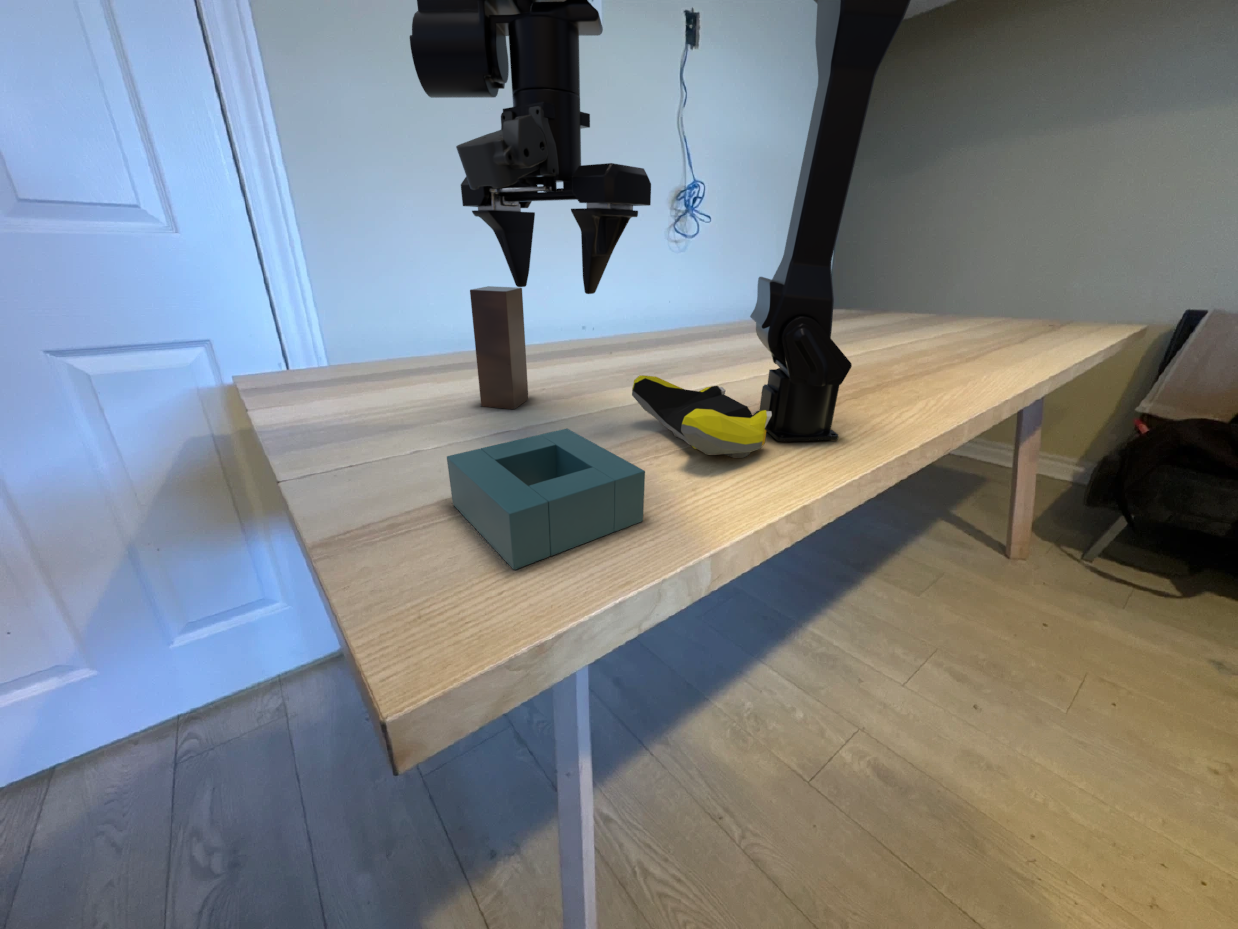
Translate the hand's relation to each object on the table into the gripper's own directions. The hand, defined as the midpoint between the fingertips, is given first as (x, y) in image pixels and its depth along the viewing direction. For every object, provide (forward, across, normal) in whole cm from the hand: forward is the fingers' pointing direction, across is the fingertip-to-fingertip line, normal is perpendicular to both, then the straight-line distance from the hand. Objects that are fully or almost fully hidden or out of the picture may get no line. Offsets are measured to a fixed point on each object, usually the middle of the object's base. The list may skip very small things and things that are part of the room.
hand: (553, 290), depth 50 cm
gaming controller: (+14, +14, +5) cm, 21 cm away
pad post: (+14, -10, +1) cm, 17 cm away
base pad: (+14, +13, -15) cm, 24 cm away
